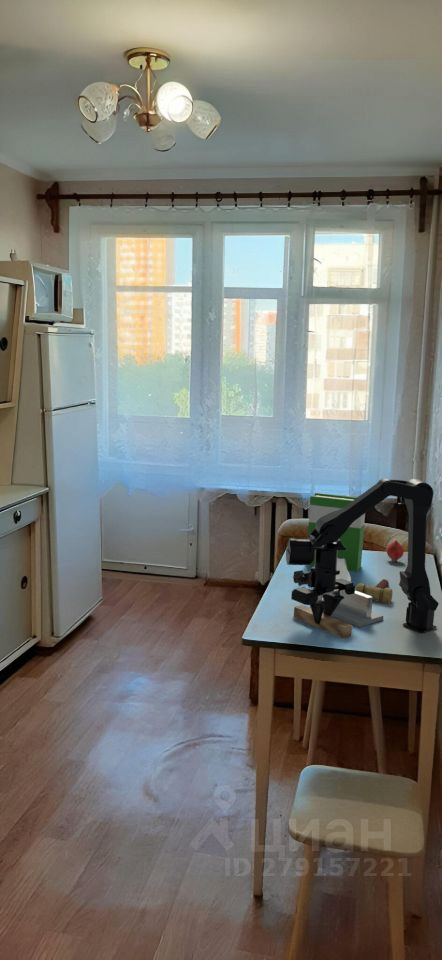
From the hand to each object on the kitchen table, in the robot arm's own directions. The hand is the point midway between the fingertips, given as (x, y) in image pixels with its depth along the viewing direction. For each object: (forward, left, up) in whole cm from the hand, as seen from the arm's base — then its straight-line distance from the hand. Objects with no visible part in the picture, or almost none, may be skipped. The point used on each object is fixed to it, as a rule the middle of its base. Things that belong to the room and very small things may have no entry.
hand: (321, 622), depth 188 cm
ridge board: (+3, -13, -1) cm, 13 cm away
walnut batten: (0, 0, -1) cm, 1 cm away
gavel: (+10, -37, -2) cm, 38 cm away
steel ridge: (+3, -13, 0) cm, 13 cm away
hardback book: (+38, -46, -1) cm, 60 cm away
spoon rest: (+24, -31, -2) cm, 39 cm away
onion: (+30, -69, -1) cm, 75 cm away
